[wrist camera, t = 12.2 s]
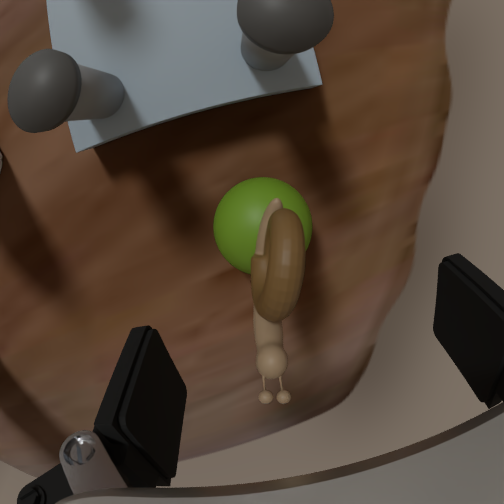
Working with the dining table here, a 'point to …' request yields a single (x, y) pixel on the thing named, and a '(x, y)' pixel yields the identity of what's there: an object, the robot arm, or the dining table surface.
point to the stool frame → (162, 62)
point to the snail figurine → (267, 261)
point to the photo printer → (0, 161)
